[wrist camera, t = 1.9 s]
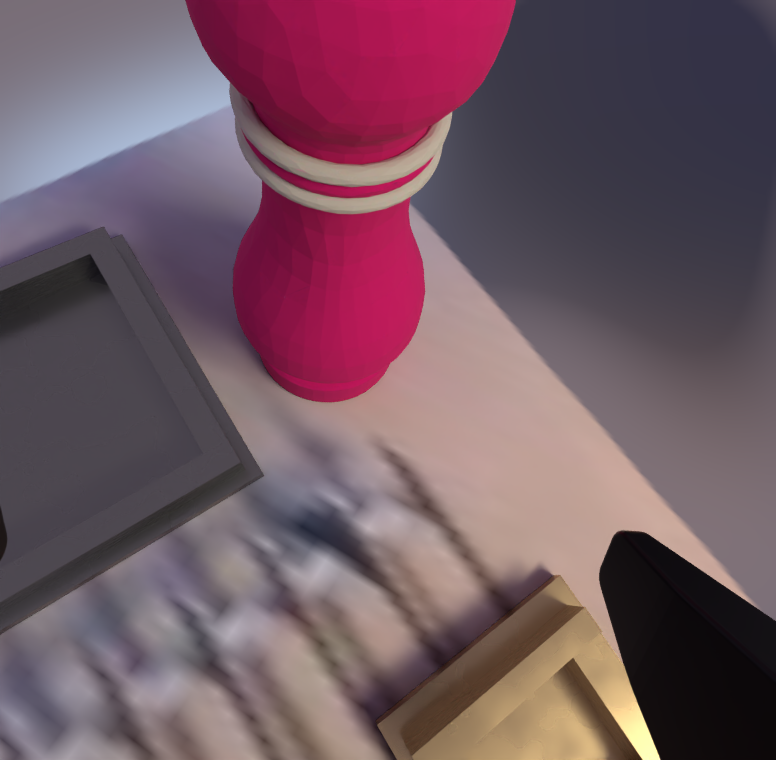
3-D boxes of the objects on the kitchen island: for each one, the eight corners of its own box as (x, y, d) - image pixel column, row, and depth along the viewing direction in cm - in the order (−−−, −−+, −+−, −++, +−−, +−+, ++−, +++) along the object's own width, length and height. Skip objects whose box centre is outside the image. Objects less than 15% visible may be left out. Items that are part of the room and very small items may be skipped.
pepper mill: (212, 335, 23) (-162, -572, 5) (328, 245, 26) (371, -584, 7) (325, 447, 22) (398, -166, 4) (434, 342, 25) (801, -341, 6)
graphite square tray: (-77, 680, 18) (-125, 693, 16) (-193, 374, 21) (-247, 354, 19) (263, 475, 22) (259, 466, 20) (126, 241, 24) (109, 213, 23)
